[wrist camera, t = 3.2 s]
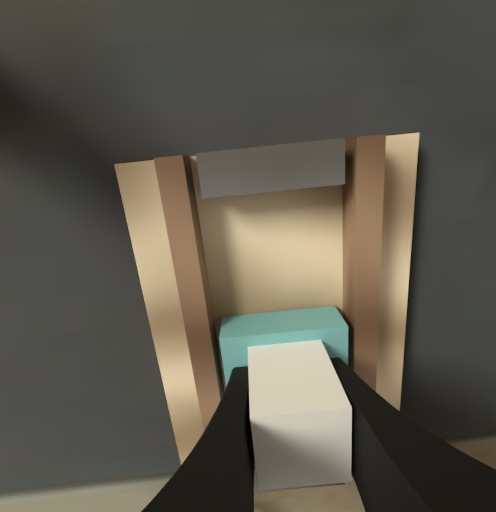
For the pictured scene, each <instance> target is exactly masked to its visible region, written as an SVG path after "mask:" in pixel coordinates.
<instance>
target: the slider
mask: <svg viewBox="0 0 496 512" xmlns="http://www.w3.org/2000/svg"><path fill="white" fill-rule="evenodd" d="M219 341H220V348H221V355H222V362H223V368H224V375H225V382H226V386H227V384H228V381H229V378H230V375H231V372H232V369H233V368H234V367H243V366H248V376H249V408H250V423H251V432H252V440H253V448H254V456H255V464H256V473H257V481H258V489H259V490H269V489H280V488H290V487H301V486H312V485H323V484H334V483H345V482H351V459H352V407H351V405H350V402H349V400H348V398H347V396H346V394H345V391H344V389H343V387H342V385H341V382H340V380H339V378H338V376H337V374H336V371H335V369H334V367H333V365H332V363H331V360H330V358H336V357H339V358H341V359H342V360H343V361H344V362H345V363H346V364H347V365H348V325H347V324H346V322H345V321H344V319H343V317H342V316H341V314H340V313H339V311H338V310H337V308H336V307H335V306H326V307H316V308H306V309H295V310H285V311H275V312H265V313H254V314H244V315H234V316H223V317H222V321H221V329H220V336H219Z"/></svg>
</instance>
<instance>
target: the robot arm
mask: <svg viewBox="0 0 496 512" xmlns="http://www.w3.org/2000/svg"><path fill="white" fill-rule="evenodd" d="M330 360H331V363H332V365H333V367H334V369H335V371H336V374H337V376H338V378H339V380H340V382H341V385H342V387H343V389H344V391H345V394H346V396H347V398H348V400H349V402H350V405H351V407H352V459H351V473H352V475H353V478H354V480H355V483H356V485H357V488H358V491H359V494H360V496H361V499H362V502H363V505H364V508H365V512H496V470H495V469H493V468H491V467H489V466H488V465H486V464H484V463H482V462H480V461H478V460H476V459H474V458H472V457H470V456H469V455H467V454H465V453H463V452H461V451H460V450H458V449H456V448H454V447H453V446H451V445H450V444H448V443H446V442H445V441H443V440H441V439H440V438H438V437H436V436H435V435H433V434H432V433H430V432H428V431H427V430H425V429H424V428H422V427H421V426H420V425H418V424H417V423H415V422H414V421H412V420H411V419H409V418H408V417H407V416H405V415H404V414H403V413H401V412H400V411H399V410H397V409H396V408H395V407H394V406H392V405H391V404H390V403H389V402H387V401H386V400H385V399H384V398H383V397H381V396H380V395H379V394H378V393H377V392H376V391H375V390H373V389H372V388H371V387H370V386H369V385H368V384H367V383H366V382H364V381H363V380H362V379H361V378H360V377H359V376H358V375H357V374H356V373H355V372H354V371H353V370H352V369H351V368H350V367H349V366H348V365H347V364H346V363H345V362H344V361H343V360H342V359H341V358H339V357H336V358H330ZM254 468H255V456H254V448H253V440H252V432H251V423H250V408H249V376H248V366H243V367H234V368H233V369H232V372H231V375H230V378H229V381H228V384H227V386H226V389H225V391H224V394H223V396H222V398H221V400H220V402H219V404H218V407H217V409H216V411H215V412H214V414H213V416H212V418H211V420H210V422H209V424H208V425H207V427H206V429H205V431H204V432H203V434H202V436H201V437H200V439H199V440H198V442H197V443H196V445H195V446H194V448H193V449H192V451H191V452H190V454H189V455H188V456H187V458H186V459H185V461H184V462H183V463H182V465H181V466H180V467H179V469H178V470H177V471H176V473H175V474H174V475H173V476H172V478H171V479H170V480H169V481H168V482H167V483H166V485H165V486H164V487H163V488H162V489H161V490H160V492H159V493H158V494H157V495H156V496H155V497H154V499H153V500H152V501H151V502H150V503H149V504H148V505H147V506H146V507H145V508H144V509H143V510H142V511H141V512H254Z"/></svg>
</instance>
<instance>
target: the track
mask: <svg viewBox="0 0 496 512" xmlns="http://www.w3.org/2000/svg"><path fill="white" fill-rule="evenodd" d="M418 145H419V133H411V134H402V135H392V136H386V134H383V135H373V136H363V137H355V138H351V139H347V140H345V138H340V139H330V140H320V141H310V142H301V143H291V144H281V145H272V146H262V147H252V148H243V149H233V150H223V151H214V152H204V153H196V156H184V155H179V156H170V157H160V158H154V160H150V161H140V162H130V163H121V164H114V166H115V170H116V175H117V179H118V184H119V188H120V193H121V197H122V202H123V206H124V211H125V215H126V220H127V224H128V229H129V233H130V238H131V242H132V246H133V251H134V255H135V260H136V264H137V269H138V273H139V278H140V282H141V287H142V291H143V296H144V300H145V305H146V309H147V314H148V318H149V323H150V327H151V331H152V336H153V340H154V345H155V349H156V354H157V358H158V363H159V367H160V372H161V376H162V381H163V385H164V390H165V394H166V399H167V403H168V408H169V412H170V416H171V421H172V425H173V430H174V434H175V439H176V443H177V448H178V452H179V457H180V461H181V464H182V463H183V462H184V461H185V459H186V458H187V456H188V455H189V454H190V452H191V451H192V449H193V448H194V446H195V445H196V443H197V442H198V440H199V439H200V437H201V436H202V434H203V432H204V431H205V429H206V427H207V425H208V424H209V422H210V420H211V418H212V416H213V414H214V412H215V411H216V409H217V407H218V404H219V402H220V400H221V398H222V396H223V394H224V391H225V389H226V382H225V375H224V368H223V362H222V355H221V348H220V341H219V336H220V329H221V321H222V317H223V316H234V315H244V314H254V313H265V312H275V311H285V310H295V309H306V308H316V307H326V306H335V307H336V308H337V310H338V311H339V313H340V314H341V316H342V317H343V319H344V321H345V322H346V324H347V325H348V366H349V367H350V368H351V369H352V370H353V371H354V372H355V373H356V374H357V375H358V376H359V377H360V378H361V379H362V380H363V381H364V382H366V383H367V384H368V385H369V386H370V387H371V388H372V389H373V390H375V391H376V392H377V393H378V394H379V395H380V396H381V397H383V398H384V399H385V400H386V401H387V402H389V403H390V404H391V405H392V406H394V407H395V408H396V409H397V410H399V411H400V400H401V385H402V371H403V357H404V343H405V329H406V315H407V300H408V286H409V272H410V258H411V244H412V230H413V216H414V201H415V187H416V173H417V159H418ZM351 474H352V473H351ZM352 476H353V475H352ZM342 484H345V483H334V484H323V485H312V486H301V487H290V488H280V489H269V490H259V489H258V481H257V473H256V464H255V468H254V492H265V491H276V490H287V489H298V488H309V487H320V486H331V485H342Z"/></svg>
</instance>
